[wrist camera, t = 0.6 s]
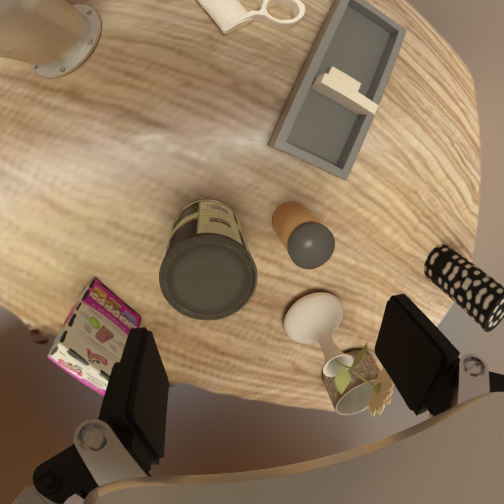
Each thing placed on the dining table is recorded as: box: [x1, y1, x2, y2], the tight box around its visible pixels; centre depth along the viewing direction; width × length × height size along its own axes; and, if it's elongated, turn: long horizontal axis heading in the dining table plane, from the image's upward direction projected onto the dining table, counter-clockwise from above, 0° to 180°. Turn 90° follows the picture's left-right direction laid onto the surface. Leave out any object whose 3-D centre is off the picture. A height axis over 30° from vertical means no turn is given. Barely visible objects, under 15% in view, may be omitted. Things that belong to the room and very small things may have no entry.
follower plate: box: [310, 66, 378, 115], centre depth 31 cm, size 8×4×5 cm, turn 67°
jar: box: [272, 202, 335, 269], centre depth 38 cm, size 6×6×10 cm
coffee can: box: [159, 199, 257, 320], centre depth 35 cm, size 10×10×14 cm
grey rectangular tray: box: [268, 0, 406, 181], centre depth 33 cm, size 11×28×4 cm, turn 157°
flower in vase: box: [284, 292, 394, 416], centre depth 40 cm, size 13×11×25 cm
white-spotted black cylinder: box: [424, 245, 504, 332], centre depth 43 cm, size 8×8×20 cm
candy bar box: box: [48, 277, 141, 396], centre depth 37 cm, size 11×5×16 cm, turn 38°
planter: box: [322, 350, 381, 415], centre depth 56 cm, size 13×13×10 cm
